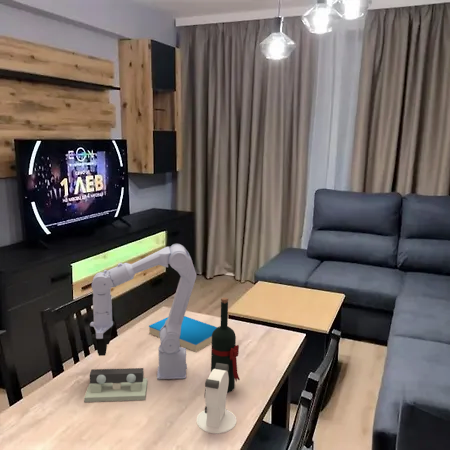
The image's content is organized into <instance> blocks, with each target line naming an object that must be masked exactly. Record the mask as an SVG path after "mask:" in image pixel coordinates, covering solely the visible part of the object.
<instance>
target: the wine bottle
mask: <svg viewBox="0 0 450 450" xmlns="http://www.w3.org/2000/svg"><path fill="white" fill-rule="evenodd" d="M220 301H221V302H220V325H219V326H216V327H217V328H216V329H215V330H214V331H213V333H212V343H211V350H210V351H211V353H210V354H211V356H210V360H211V361H210V362H211V363H210V373H211V372H212V370H213V369H215V365H216V363H221V364H227V365H229V370H228V376H229V384H228V391H227V394H228V393H231V392H233V391H234V389H235V388H236V387H235V386H236V383H237V380H239V381H240V377H239V373H238V365H237V363H238V362H237V357H238V356H239V354H240V352H239V349H240V346H239V344H237V345H236V341H237V340H236V339H237V336H236V333H235V331H234V330H233V328H231V327H230V326H228V323H229V322H228V319H229V317H228V316H229V315H228V314H229V298H228V297H222V298H220Z"/></svg>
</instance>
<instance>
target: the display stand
mask: <svg viewBox="0 0 450 450" xmlns="http://www.w3.org/2000/svg"><path fill="white" fill-rule="evenodd" d="M147 389H148V377H144V378H143V382H133V383H129V382H123V383H103V384H99V383H91V384H90V382H89V384H88V386H87V389H86V392H85V394H84V398H83V400H84V403H101V402H103V403H104V402H123V401H124V402H125V401H127V402H128V401H132V402H133V401H146V397H147V396H146V395H147Z"/></svg>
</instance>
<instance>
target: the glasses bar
mask: <svg viewBox="0 0 450 450" xmlns="http://www.w3.org/2000/svg"><path fill="white" fill-rule="evenodd" d="M144 374H145V373H144V367H138V368H137V367H135V368H134V367H133V368H132V367H130V368H103V369H102V368H99V369H98V368H97V369H96V368H95V369H91V370H90V373H89V383H90V384H91V383H99V384H103V383H123V382H129V383H133V382H143V378H145V375H144Z"/></svg>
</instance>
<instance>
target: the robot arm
mask: <svg viewBox="0 0 450 450" xmlns="http://www.w3.org/2000/svg"><path fill="white" fill-rule="evenodd" d="M157 266H162V267H165V268H169V266H170V268H172V269H174V271H176V272H177V273H178V274H179V276H180V277H179V280H178V283H177V288H176V292H175V294H174V297H173V300H172V304H171V307H170V311H169V313H168V316H167V317H168V319H167V320H166V322H165V324H164V326H163V327H162V328H161V329H160V332H159V336H160V338H159V339H160V340H159V341H160V344H159V346H158V366H157V374H156V379H157V380H178V379H182V380H183V379H187V370H188V363H187V348H185V347H182V346H180V341H179V338H180V333H181V325H182V321H183V318H184V316H185V315H186V311H187V308H188V305H189V301H190V298H191V295H192V294H193V293H192V292H193V289H194V287H195V283H196V280H197V272H196V269H195V267H194V264H193V260H192V257H191V255H190V253H189V251H188V250H187V249H186V247H185V246H184V245H182V244H180V243H173V244H172V245H171V246H165V247H163V248H161V249H160V250H158V251H156V252H155V251H154V253H151V254H150V255H147V256H145V257H143V258H140V259H139V260H137V261H135V262H132V263H129V262H124V263H123V262H118V264H117V266H114V267H112V268H110V269H108V270H107V269H106V268H105V269H104V270H103V271H100V272H97V273H96V274H95V275H94V276H93V278H92V281H91V290H92V307H93V308H92V309H93V311H92V312H93V313H92V314H93V321H91V322H90V323H89V326H90V327H93V328H94V331H95V333H92V335H91V341H92V342H93V343H94V345H95V348H96V352H97V355H98V356H99V357H101V356H103V357H104V356H106V354H107V349H108V348H107V347H108V345H110V342H111V338H112V337H111V335H112V330H113V327H114V326H115V322H116V321H114V320H113V305H112V303H113V300H112V295H111V294H112V293H111V289H112V288H116V287H118V286H120V285H122V284H125V283H127V282H129V281H131V280H133V279H134V278H135V275H136V274H138V273H140V272H143V271H146V270H148V269H151V268H154V267H157Z"/></svg>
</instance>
